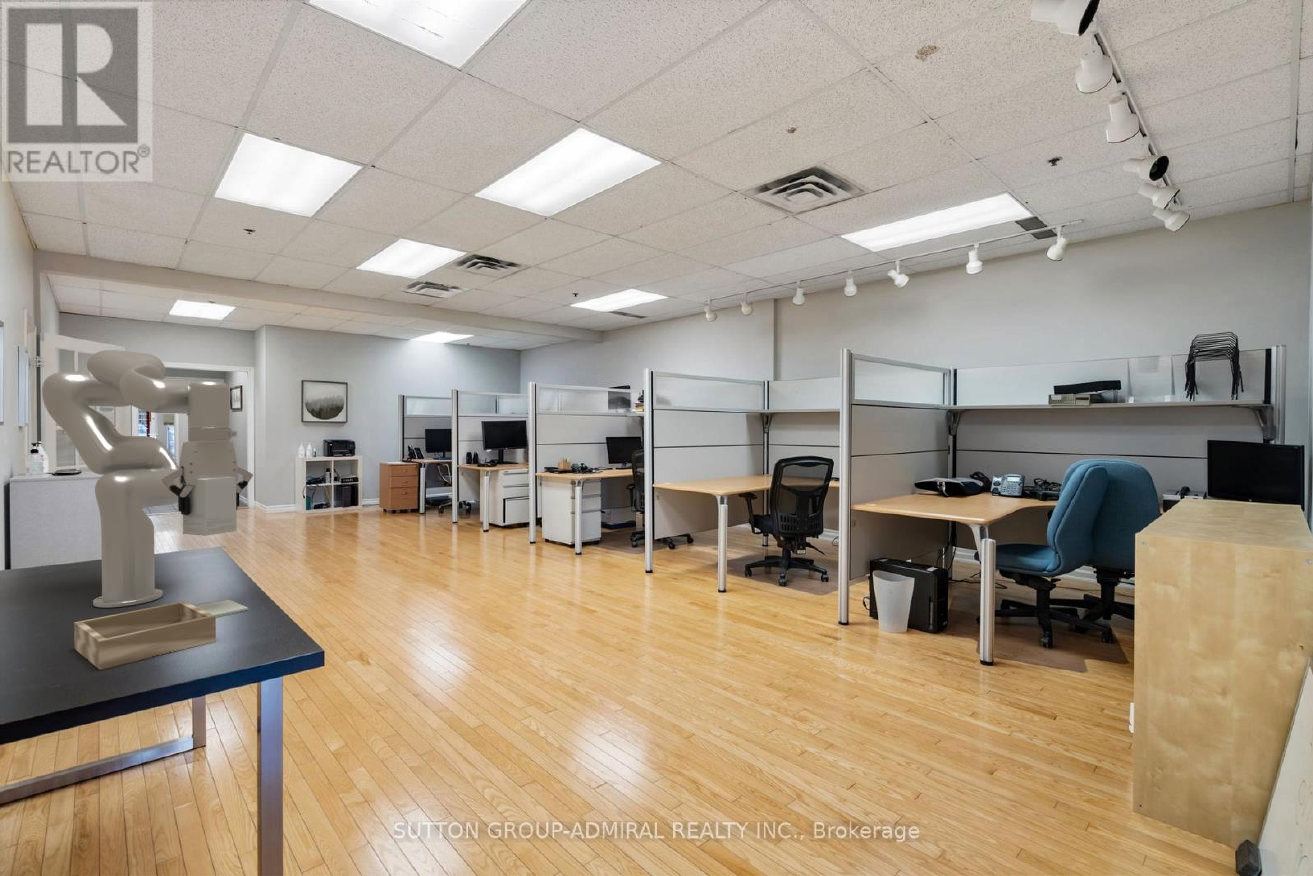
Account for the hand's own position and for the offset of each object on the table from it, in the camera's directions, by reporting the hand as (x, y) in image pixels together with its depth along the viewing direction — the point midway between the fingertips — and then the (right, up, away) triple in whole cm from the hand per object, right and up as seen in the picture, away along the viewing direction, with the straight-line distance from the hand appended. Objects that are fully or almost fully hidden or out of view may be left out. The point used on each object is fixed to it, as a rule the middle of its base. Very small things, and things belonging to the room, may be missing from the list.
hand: (209, 512), depth 134 cm
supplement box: (0, -5, 0) cm, 5 cm away
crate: (+3, -23, -20) cm, 31 cm away
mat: (0, -23, 0) cm, 23 cm away
